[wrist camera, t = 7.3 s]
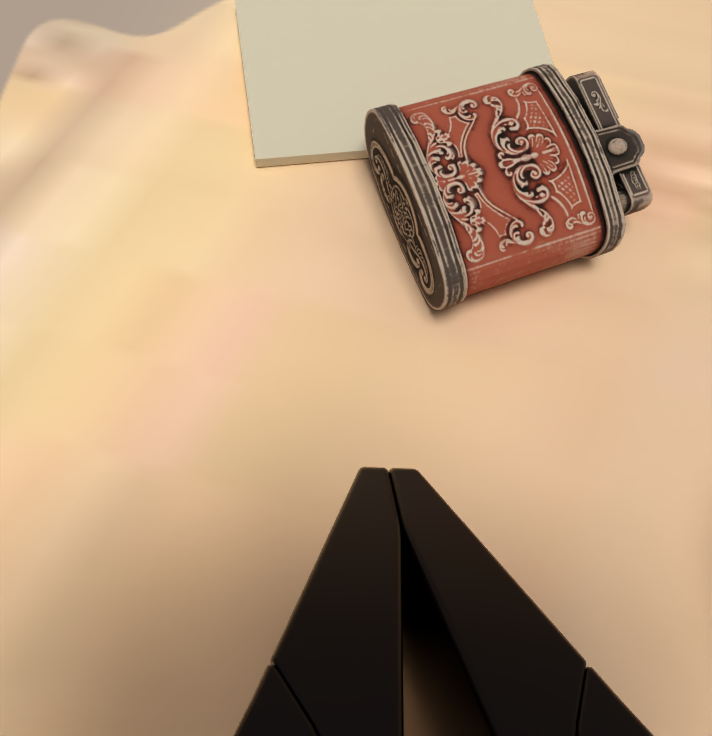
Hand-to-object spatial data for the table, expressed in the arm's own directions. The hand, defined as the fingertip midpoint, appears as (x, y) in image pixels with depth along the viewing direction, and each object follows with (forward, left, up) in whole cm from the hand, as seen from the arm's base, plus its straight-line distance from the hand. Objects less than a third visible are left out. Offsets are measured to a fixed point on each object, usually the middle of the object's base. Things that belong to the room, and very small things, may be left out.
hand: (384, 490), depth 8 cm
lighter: (+4, +10, -9) cm, 14 cm away
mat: (+5, +18, -11) cm, 22 cm away
